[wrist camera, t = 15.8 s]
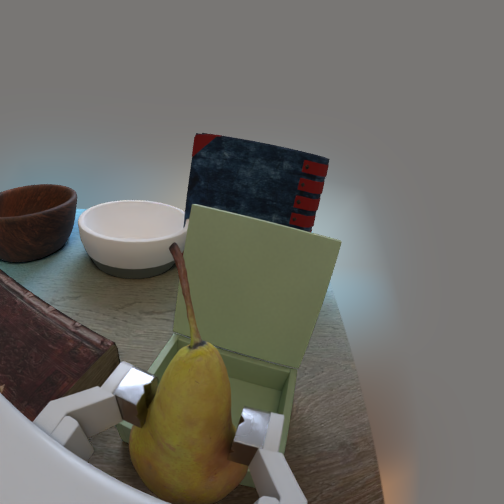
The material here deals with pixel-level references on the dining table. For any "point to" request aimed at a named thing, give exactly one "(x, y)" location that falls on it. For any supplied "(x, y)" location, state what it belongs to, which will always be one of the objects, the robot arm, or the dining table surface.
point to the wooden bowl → (35, 221)
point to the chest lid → (254, 284)
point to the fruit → (188, 423)
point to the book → (256, 180)
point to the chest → (239, 387)
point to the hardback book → (46, 351)
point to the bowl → (132, 236)
